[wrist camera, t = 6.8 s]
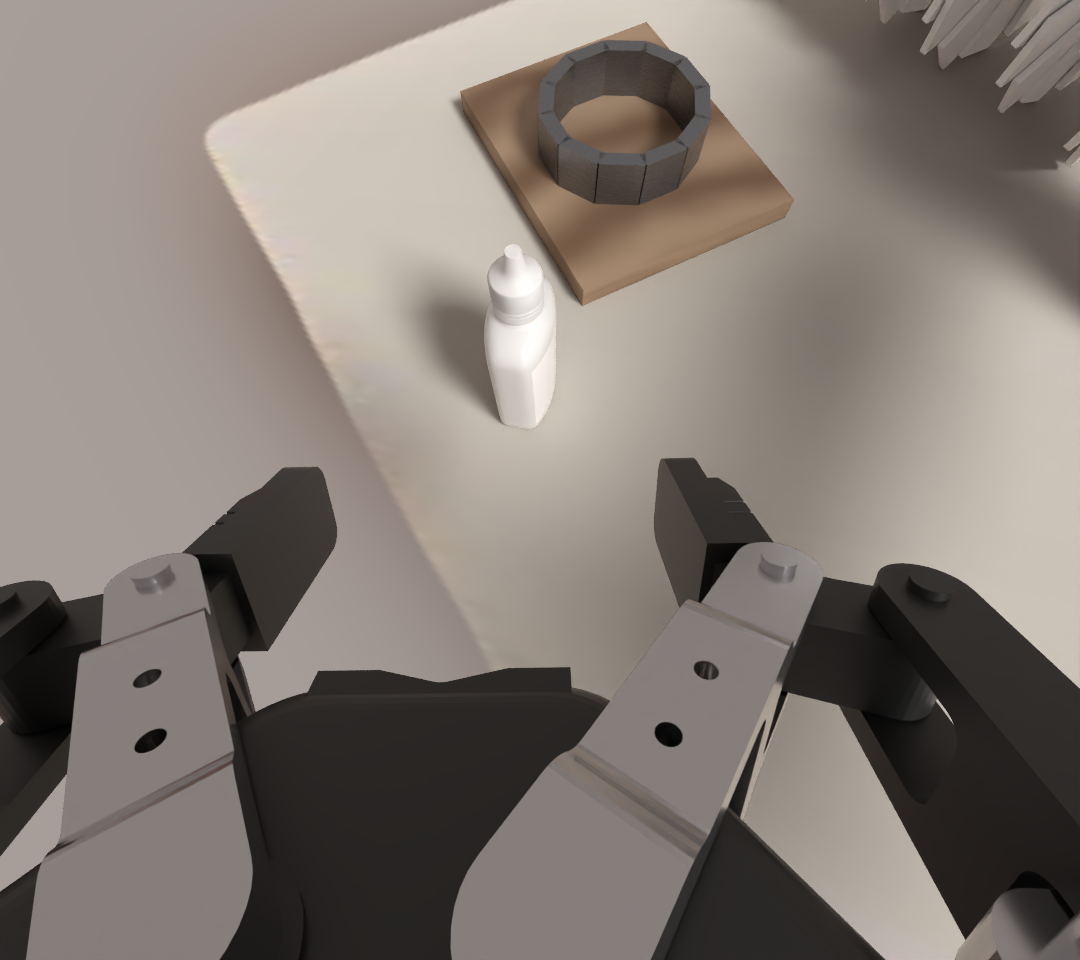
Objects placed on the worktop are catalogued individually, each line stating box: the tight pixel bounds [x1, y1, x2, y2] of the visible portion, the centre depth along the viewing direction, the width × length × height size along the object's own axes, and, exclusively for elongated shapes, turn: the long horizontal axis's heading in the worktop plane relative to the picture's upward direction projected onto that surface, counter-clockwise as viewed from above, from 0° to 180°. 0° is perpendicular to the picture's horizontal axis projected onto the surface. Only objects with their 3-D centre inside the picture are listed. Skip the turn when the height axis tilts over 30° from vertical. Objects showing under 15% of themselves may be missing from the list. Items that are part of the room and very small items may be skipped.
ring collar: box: [537, 40, 711, 205], centre depth 34 cm, size 11×11×3 cm
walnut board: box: [460, 22, 794, 305], centre depth 36 cm, size 20×16×2 cm
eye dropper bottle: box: [484, 244, 556, 429], centre depth 26 cm, size 4×6×12 cm
